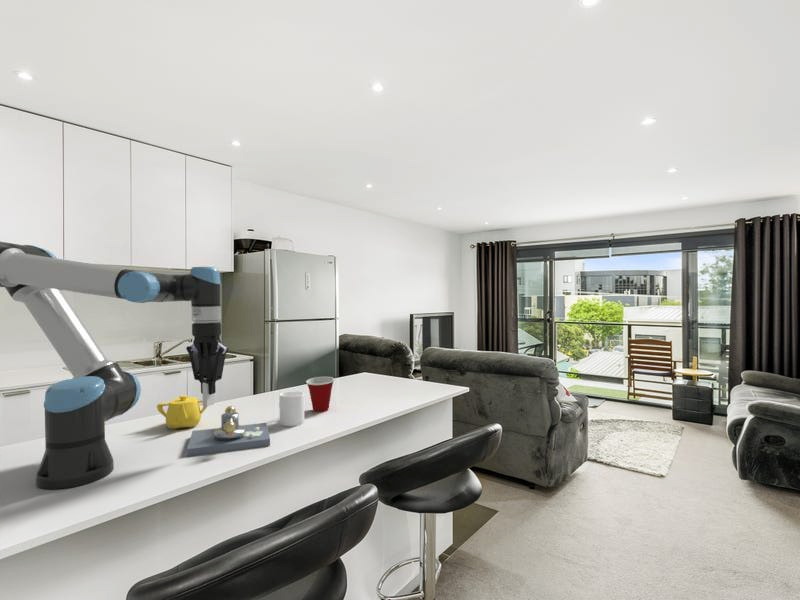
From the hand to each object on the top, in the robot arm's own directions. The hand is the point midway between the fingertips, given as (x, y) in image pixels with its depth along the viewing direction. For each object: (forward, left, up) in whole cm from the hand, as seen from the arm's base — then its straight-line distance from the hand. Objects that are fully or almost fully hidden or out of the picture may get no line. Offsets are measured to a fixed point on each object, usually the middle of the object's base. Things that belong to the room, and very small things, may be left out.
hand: (208, 405), depth 120 cm
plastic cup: (+37, +32, -14) cm, 51 cm away
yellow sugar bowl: (-10, +30, -14) cm, 34 cm away
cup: (+24, +21, -14) cm, 35 cm away
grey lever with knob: (+5, +7, -11) cm, 14 cm away
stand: (+5, +7, -13) cm, 16 cm away
